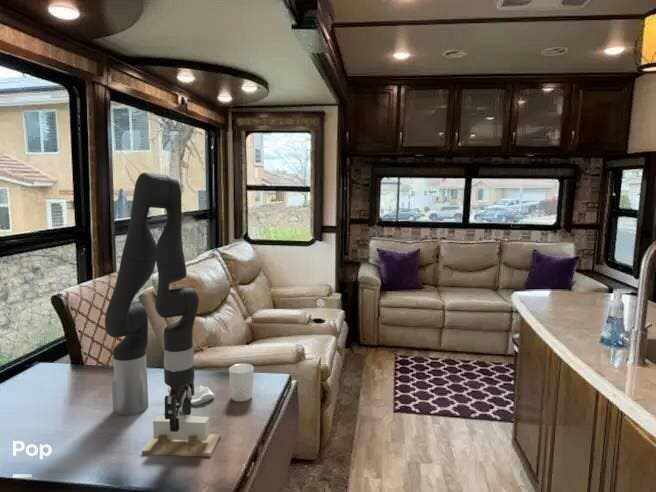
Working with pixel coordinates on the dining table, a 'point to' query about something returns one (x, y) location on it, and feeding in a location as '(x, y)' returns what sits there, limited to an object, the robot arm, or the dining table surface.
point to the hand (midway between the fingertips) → (180, 422)
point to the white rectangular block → (182, 428)
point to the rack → (182, 446)
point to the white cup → (241, 381)
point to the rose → (201, 395)
